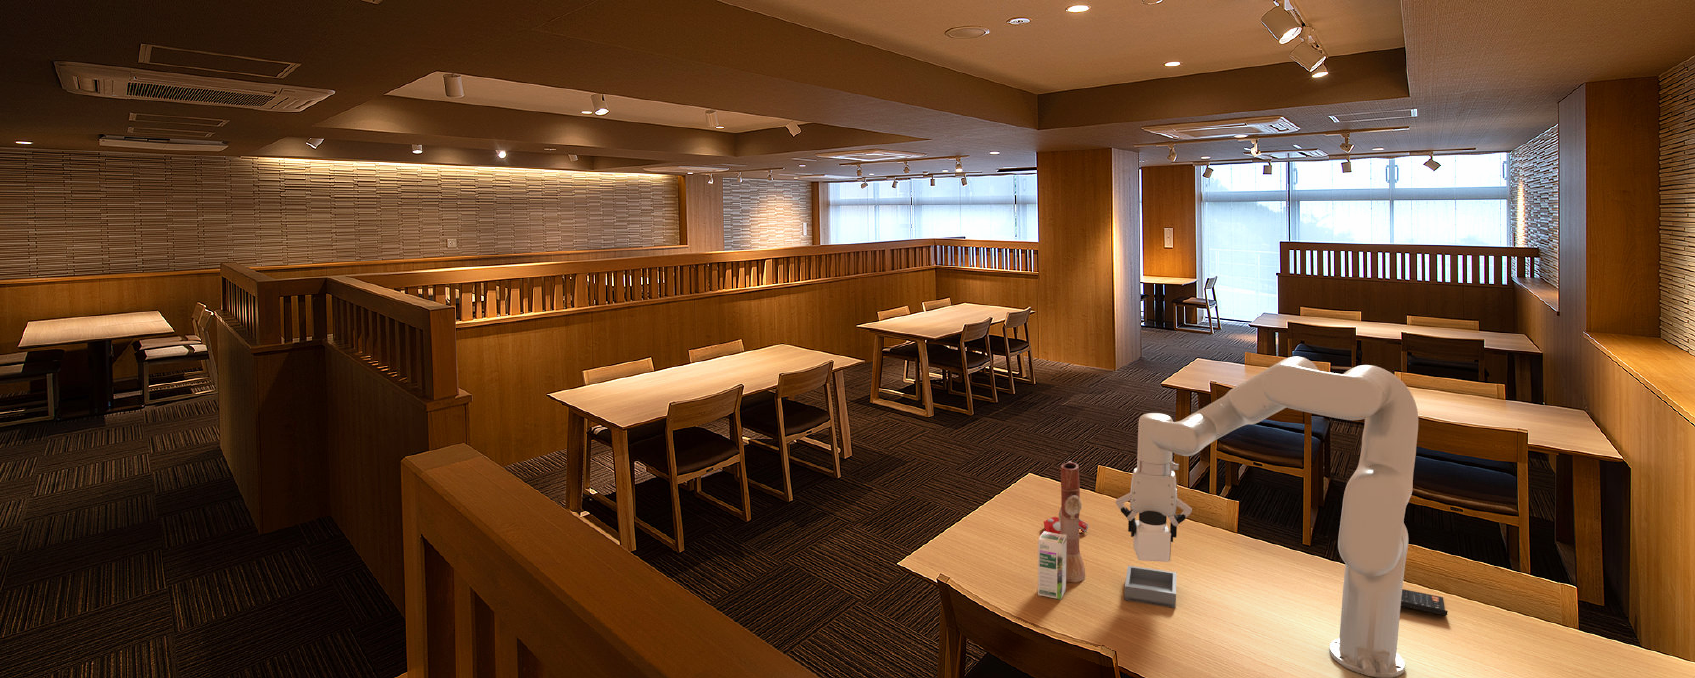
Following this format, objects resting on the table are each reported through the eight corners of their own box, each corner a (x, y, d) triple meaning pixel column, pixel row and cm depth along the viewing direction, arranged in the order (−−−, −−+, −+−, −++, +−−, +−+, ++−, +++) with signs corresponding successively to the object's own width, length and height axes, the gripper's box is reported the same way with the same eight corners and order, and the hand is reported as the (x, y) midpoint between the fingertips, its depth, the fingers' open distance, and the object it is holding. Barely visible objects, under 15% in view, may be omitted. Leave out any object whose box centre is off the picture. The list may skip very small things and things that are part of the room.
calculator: (1442, 600, 175) (1443, 588, 175) (1446, 624, 166) (1447, 611, 166) (1392, 590, 181) (1393, 578, 180) (1393, 612, 171) (1394, 600, 171)
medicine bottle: (1170, 562, 178) (1172, 513, 176) (1138, 560, 179) (1139, 512, 177) (1164, 548, 185) (1166, 501, 183) (1133, 547, 186) (1134, 500, 184)
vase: (1057, 566, 199) (1058, 455, 194) (1086, 570, 196) (1088, 458, 191) (1052, 585, 189) (1053, 469, 184) (1083, 589, 186) (1084, 472, 181)
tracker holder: (1058, 540, 212) (1035, 520, 220) (1058, 552, 214) (1035, 531, 222) (1092, 522, 216) (1068, 503, 224) (1092, 534, 218) (1068, 514, 226)
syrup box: (1037, 595, 184) (1037, 539, 182) (1043, 584, 189) (1043, 529, 187) (1061, 600, 182) (1061, 543, 179) (1066, 589, 187) (1067, 533, 184)
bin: (1175, 608, 176) (1176, 593, 176) (1124, 599, 181) (1124, 586, 180) (1176, 585, 186) (1176, 572, 186) (1127, 578, 191) (1128, 565, 190)
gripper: (1195, 465, 178) (1192, 535, 181) (1116, 457, 185) (1114, 526, 188) (1195, 476, 171) (1192, 549, 174) (1113, 467, 178) (1111, 538, 181)
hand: (1152, 536), depth 181 cm, fingers closed on medicine bottle, 8 cm apart
